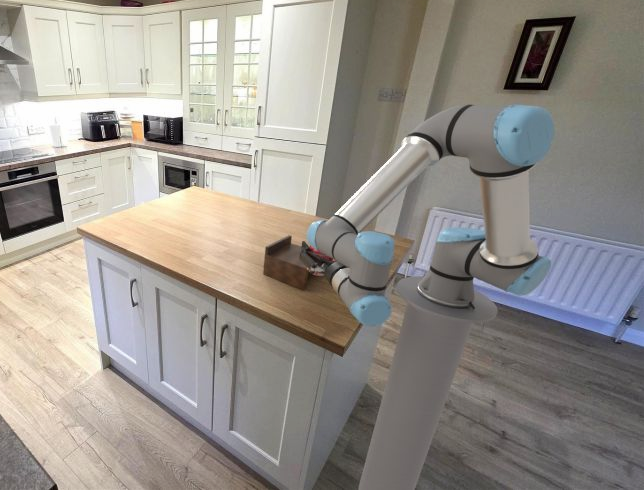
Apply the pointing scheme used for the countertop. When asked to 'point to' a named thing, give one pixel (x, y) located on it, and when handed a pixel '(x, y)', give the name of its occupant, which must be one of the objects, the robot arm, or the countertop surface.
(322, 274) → the soda can
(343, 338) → the countertop surface
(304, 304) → the countertop surface
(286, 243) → the shelf
